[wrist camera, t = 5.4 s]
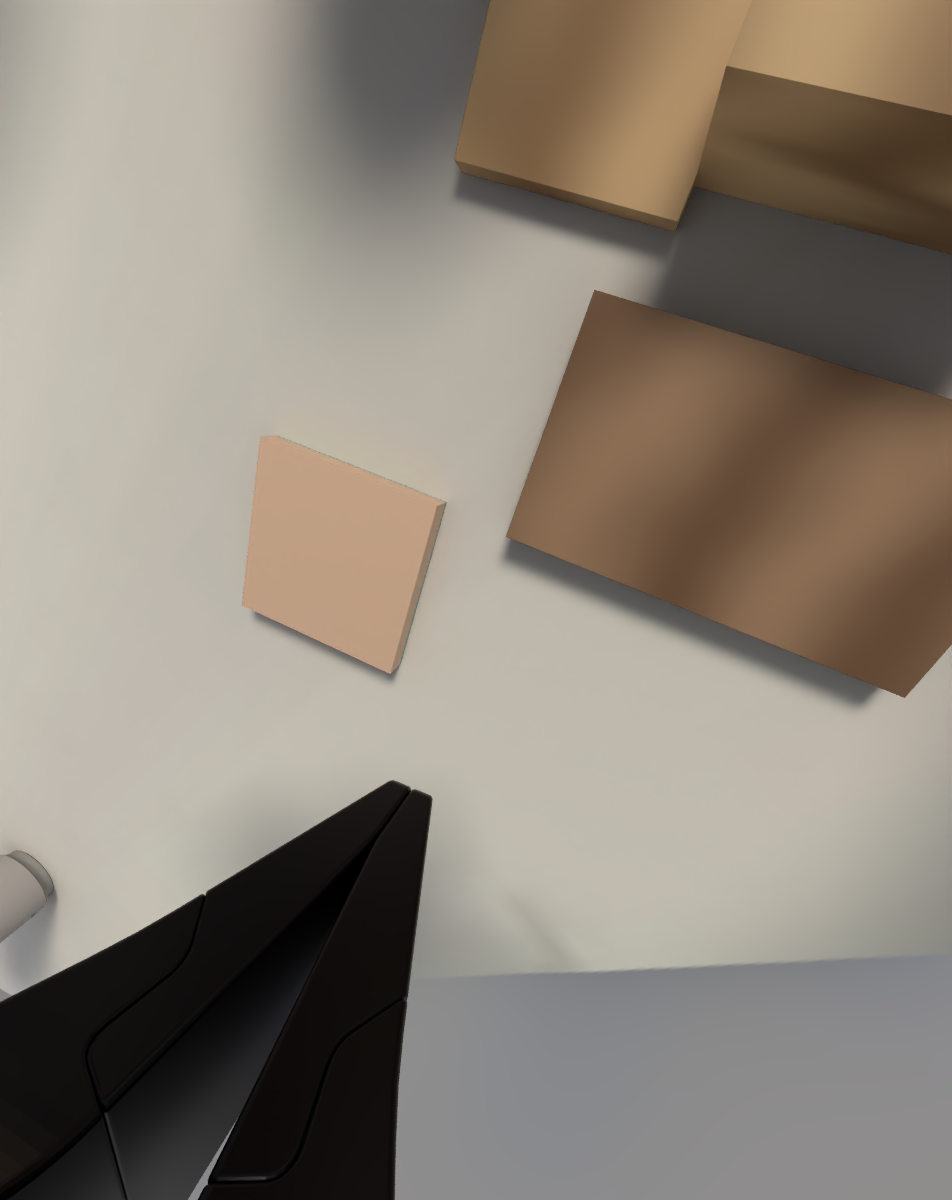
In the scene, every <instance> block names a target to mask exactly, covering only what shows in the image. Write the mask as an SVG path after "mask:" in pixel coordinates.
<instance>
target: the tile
mask: <svg viewBox="0 0 952 1200" xmlns="http://www.w3.org/2000/svg"><path fill="white" fill-rule="evenodd" d="M445 506H446V502H445V501H442V500H440V499H437V498H435V497H432V496H429V495H427V494H424V493H422V492H419V491H417V490H414V489H412V488H409V487H407V486H404V485H401V484H399V483H396V482H394V481H391V480H389V479H386V478H384V477H381V476H379V475H376V474H373V473H371V472H368V471H366V470H363V469H361V468H358V467H356V466H353V465H351V464H348V463H345V462H343V461H340V460H338V459H335V458H333V457H330V456H328V455H325V454H323V453H320V452H317V451H315V450H312V449H310V448H307V447H305V446H302V445H300V444H297V443H295V442H292V441H289V440H287V439H284V438H282V437H279V436H260V444H259V453H258V462H257V472H256V481H255V490H254V499H253V508H252V518H251V527H250V536H249V545H248V554H247V564H246V573H245V582H244V591H243V600H242V606H244V607H247V608H249V609H251V610H253V611H255V612H257V613H260V614H262V615H264V616H266V617H268V618H270V619H273V620H275V621H277V622H279V623H281V624H283V625H285V626H288V627H290V628H292V629H294V630H296V631H298V632H301V633H303V634H305V635H307V636H309V637H311V638H314V639H316V640H318V641H320V642H322V643H324V644H326V645H329V646H331V647H333V648H335V649H337V650H339V651H342V652H344V653H346V654H348V655H350V656H352V657H355V658H357V659H359V660H361V661H363V662H365V663H368V664H370V665H372V666H374V667H376V668H378V669H380V670H383V671H385V672H387V673H389V674H391V673H392V672H393V671H394V670H395V669H396V668H397V667H398V665H399V664H400V663H401V661H402V657H403V654H404V650H405V647H406V643H407V639H408V636H409V632H410V629H411V625H412V622H413V618H414V615H415V611H416V608H417V604H418V601H419V597H420V594H421V590H422V587H423V583H424V580H425V576H426V573H427V569H428V566H429V562H430V559H431V555H432V552H433V548H434V545H435V541H436V538H437V534H438V531H439V527H440V524H441V520H442V517H443V513H444V509H445Z"/></svg>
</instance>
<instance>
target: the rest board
mask: <svg viewBox="0 0 952 1200" xmlns="http://www.w3.org/2000/svg"><path fill="white" fill-rule="evenodd" d="M506 537H508V538H511V539H513V540H516V541H518V542H521V543H523V544H526V545H528V546H531V547H533V548H536V549H538V550H541V551H543V552H545V553H548V554H550V555H553V556H555V557H558V558H560V559H563V560H565V561H568V562H570V563H573V564H575V565H578V566H580V567H583V568H585V569H588V570H590V571H592V572H595V573H597V574H600V575H602V576H605V577H607V578H610V579H612V580H615V581H617V582H620V583H622V584H625V585H627V586H630V587H632V588H634V589H637V590H639V591H642V592H644V593H647V594H649V595H652V596H654V597H657V598H659V599H662V600H664V601H667V602H669V603H672V604H674V605H676V606H679V607H681V608H684V609H686V610H689V611H691V612H694V613H696V614H699V615H701V616H704V617H706V618H709V619H711V620H714V621H716V622H718V623H721V624H723V625H726V626H728V627H731V628H733V629H736V630H738V631H741V632H743V633H746V634H748V635H751V636H753V637H756V638H758V639H760V640H763V641H765V642H768V643H770V644H773V645H775V646H778V647H780V648H783V649H785V650H788V651H790V652H793V653H795V654H798V655H800V656H802V657H805V658H807V659H810V660H812V661H815V662H817V663H820V664H822V665H825V666H827V667H830V668H832V669H835V670H837V671H840V672H842V673H845V674H847V675H849V676H852V677H854V678H857V679H859V680H862V681H864V682H867V683H869V684H872V685H874V686H877V687H879V688H882V689H884V690H887V691H889V692H891V693H894V694H896V695H899V696H901V697H904V698H905V697H906V696H907V695H908V693H909V692H910V691H911V690H912V689H913V688H914V687H915V685H916V684H917V683H918V682H919V681H920V680H921V679H922V678H923V676H924V675H925V674H926V673H927V672H928V671H929V670H930V668H931V667H932V666H933V665H934V664H935V663H936V662H937V661H938V659H939V658H940V657H941V656H942V655H943V654H944V653H945V651H946V650H947V649H948V648H949V647H950V646H951V645H952V400H951V399H948V398H944V397H941V396H938V395H935V394H931V393H928V392H925V391H922V390H918V389H915V388H912V387H909V386H905V385H902V384H899V383H896V382H892V381H889V380H886V379H883V378H879V377H876V376H873V375H870V374H866V373H863V372H860V371H857V370H853V369H850V368H847V367H844V366H840V365H837V364H834V363H831V362H827V361H824V360H821V359H818V358H814V357H811V356H808V355H805V354H801V353H798V352H795V351H792V350H788V349H785V348H782V347H779V346H775V345H772V344H769V343H766V342H762V341H759V340H756V339H753V338H749V337H746V336H743V335H740V334H736V333H733V332H730V331H727V330H723V329H720V328H717V327H714V326H710V325H707V324H704V323H701V322H697V321H694V320H691V319H688V318H684V317H681V316H678V315H675V314H671V313H668V312H665V311H662V310H658V309H655V308H652V307H649V306H645V305H642V304H639V303H636V302H632V301H629V300H626V299H623V298H619V297H616V296H613V295H610V294H606V293H603V292H600V291H597V290H594V293H593V296H592V298H591V301H590V304H589V307H588V309H587V312H586V315H585V318H584V321H583V323H582V326H581V329H580V332H579V335H578V337H577V340H576V343H575V346H574V349H573V351H572V354H571V357H570V360H569V362H568V365H567V368H566V371H565V374H564V376H563V379H562V382H561V385H560V388H559V390H558V393H557V396H556V399H555V401H554V404H553V407H552V410H551V413H550V415H549V418H548V421H547V424H546V427H545V429H544V432H543V435H542V438H541V440H540V443H539V446H538V449H537V452H536V454H535V457H534V460H533V463H532V466H531V468H530V471H529V474H528V477H527V479H526V482H525V485H524V488H523V491H522V493H521V496H520V499H519V502H518V505H517V507H516V510H515V513H514V516H513V518H512V521H511V524H510V527H509V530H508V532H507V535H506Z"/></svg>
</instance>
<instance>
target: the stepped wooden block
mask: <svg viewBox="0 0 952 1200" xmlns="http://www.w3.org/2000/svg"><path fill="white" fill-rule="evenodd" d="M454 160H455V162H456V163H457V165H458V166H459V168H460V170H461V171H462V172H464V173H467V174H471V175H474V176H478V177H481V178H485V179H489V180H492V181H496V182H499V183H503V184H506V185H510V186H514V187H517V188H521V189H524V190H528V191H531V192H535V193H539V194H542V195H546V196H549V197H553V198H556V199H560V200H564V201H567V202H571V203H574V204H578V205H581V206H585V207H589V208H592V209H596V210H599V211H603V212H606V213H610V214H614V215H617V216H621V217H624V218H628V219H631V220H635V221H639V222H642V223H646V224H649V225H653V226H656V227H660V228H664V229H667V230H671V231H674V232H675V231H676V229H677V226H678V224H679V221H680V219H681V216H682V214H683V211H684V209H685V206H686V204H687V201H688V199H689V196H690V194H691V192H692V189H693V187H698V188H702V189H706V190H709V191H713V192H717V193H721V194H725V195H728V196H732V197H736V198H740V199H744V200H747V201H751V202H755V203H759V204H763V205H766V206H770V207H774V208H778V209H782V210H785V211H789V212H793V213H797V214H801V215H804V216H808V217H812V218H816V219H820V220H823V221H827V222H831V223H835V224H839V225H842V226H846V227H850V228H854V229H858V230H861V231H865V232H869V233H873V234H877V235H880V236H884V237H888V238H892V239H896V240H899V241H903V242H907V243H911V244H915V245H918V246H922V247H926V248H930V249H934V250H937V251H941V252H945V253H949V254H952V0H490V3H489V7H488V12H487V16H486V21H485V25H484V30H483V34H482V38H481V43H480V47H479V52H478V56H477V61H476V65H475V69H474V74H473V78H472V83H471V87H470V92H469V96H468V100H467V105H466V109H465V114H464V118H463V123H462V127H461V131H460V136H459V140H458V145H457V149H456V154H455V158H454Z"/></svg>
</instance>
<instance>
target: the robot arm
mask: <svg viewBox="0 0 952 1200" xmlns="http://www.w3.org/2000/svg"><path fill="white" fill-rule="evenodd" d="M431 808H432V797H431V796H430V795H428V794H426V793H423V792H421V791H419V790H416V789H414V790H412V791H411V788H410V787H409V786H407V785H404V784H402V783H399V782H397V781H394V780H392V781H389V782H387V783H385V784H384V785H382V786H380V787H379V788H377V789H375V790H374V791H372V792H370V793H369V794H367V795H365V796H364V797H362V798H360V799H359V800H357V801H355V802H354V803H352V804H350V805H349V806H347V807H345V808H344V809H342V810H341V811H339V812H337V813H336V814H334V815H332V816H331V817H329V818H327V819H326V820H324V821H322V822H321V823H319V824H317V825H316V826H314V827H312V828H311V829H309V830H307V831H306V832H304V833H302V834H301V835H299V836H298V837H296V838H294V839H293V840H291V841H289V842H288V843H286V844H284V845H283V846H281V847H279V848H278V849H276V850H274V851H273V852H271V853H269V854H268V855H266V856H264V857H263V858H261V859H259V860H258V861H256V862H254V863H253V864H251V865H250V866H248V867H246V868H245V869H243V870H241V871H240V872H238V873H236V874H235V875H233V876H231V877H230V878H228V879H226V880H225V881H223V882H221V883H220V884H218V885H216V886H215V887H213V888H211V889H210V890H208V891H207V893H206V896H205V895H204V894H201V895H199V896H198V897H196V898H195V899H193V900H191V901H190V902H188V903H186V904H185V905H183V906H181V907H180V908H178V909H176V910H175V911H173V912H171V913H169V914H168V915H166V916H164V917H162V918H161V919H159V920H157V921H155V922H154V923H152V924H150V925H149V926H147V927H145V928H143V929H142V930H140V931H138V932H136V933H135V934H133V935H131V936H129V937H127V938H125V939H123V940H121V941H119V942H117V943H115V944H114V945H112V946H110V947H108V948H106V949H104V950H102V951H100V952H98V953H96V954H94V955H92V956H91V957H89V958H87V959H85V960H83V961H81V962H79V963H77V964H75V965H73V966H71V967H69V968H67V969H65V970H63V971H61V972H59V973H57V974H55V975H53V976H51V977H49V978H47V979H45V980H43V981H41V982H39V983H37V984H35V985H33V986H31V987H29V988H27V989H25V990H23V991H21V992H19V993H17V994H15V995H13V996H11V997H9V998H7V999H5V1000H3V1001H1V1002H0V1200H188V1198H189V1197H190V1195H191V1193H192V1192H193V1190H194V1188H195V1187H196V1185H197V1183H198V1182H199V1180H200V1178H201V1177H202V1175H203V1174H204V1172H205V1170H206V1169H207V1167H208V1166H209V1164H210V1162H211V1161H212V1159H213V1157H214V1156H215V1154H216V1152H217V1151H218V1149H219V1148H220V1146H221V1144H222V1143H223V1141H224V1139H225V1138H226V1136H227V1135H228V1133H229V1131H230V1130H231V1128H232V1126H233V1125H234V1123H235V1122H236V1123H235V1125H234V1128H233V1129H232V1131H231V1134H230V1135H229V1138H228V1140H227V1142H226V1144H225V1146H224V1148H223V1150H222V1152H221V1154H220V1156H219V1158H218V1160H217V1162H216V1164H215V1166H214V1168H213V1170H212V1172H211V1174H210V1176H209V1179H208V1185H206V1186H205V1187H204V1189H203V1191H202V1193H201V1194H200V1197H199V1198H198V1200H395V1157H396V1128H397V1107H398V1084H399V1073H400V1063H401V1053H402V1043H403V1033H404V1025H405V1017H406V1009H407V997H408V991H409V983H410V975H411V967H412V959H413V951H414V943H415V935H416V927H417V919H418V911H419V903H420V895H421V887H422V879H423V872H424V864H425V856H426V848H427V840H428V832H429V824H430V816H431ZM237 1118H238V1119H237ZM236 1120H237V1121H236Z"/></svg>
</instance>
